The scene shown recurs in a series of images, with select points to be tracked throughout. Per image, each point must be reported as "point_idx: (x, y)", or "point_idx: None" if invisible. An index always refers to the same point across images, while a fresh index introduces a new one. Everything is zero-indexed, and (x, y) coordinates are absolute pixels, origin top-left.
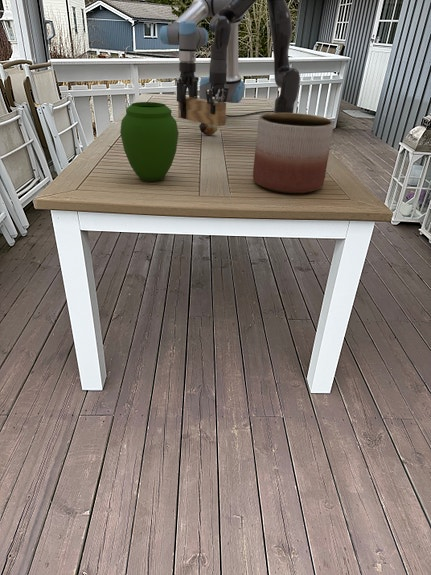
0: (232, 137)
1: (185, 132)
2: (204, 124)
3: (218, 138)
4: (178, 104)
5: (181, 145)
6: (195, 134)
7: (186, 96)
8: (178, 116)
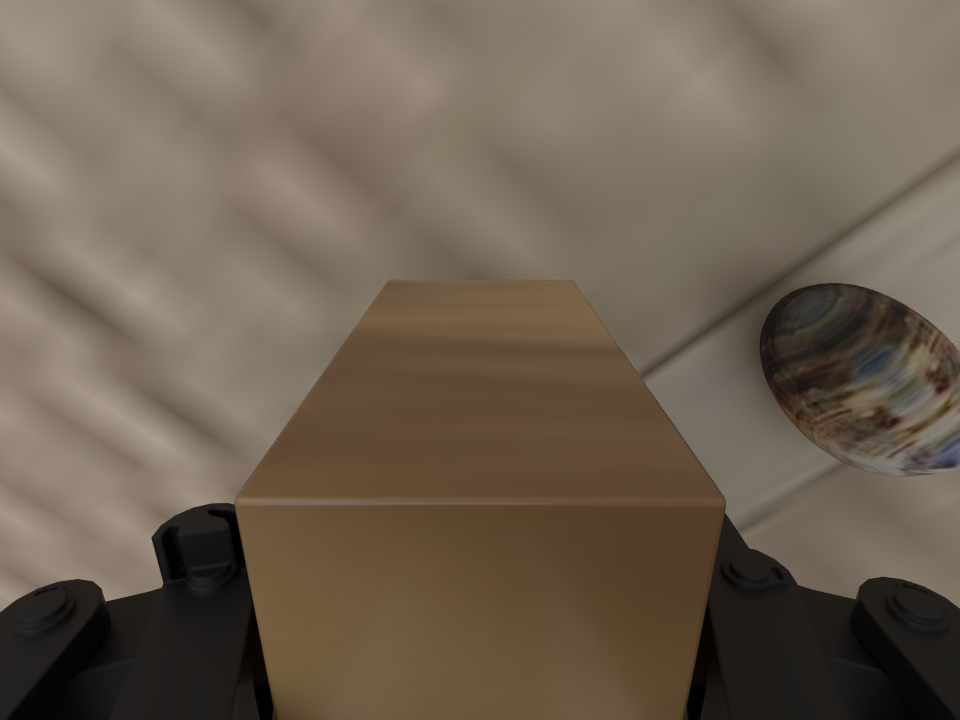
0: (875, 545)
1: (779, 30)
2: (808, 395)
3: (745, 490)
4: (322, 377)
5: (239, 445)
6: (757, 212)
7: (678, 603)
8: (383, 289)
